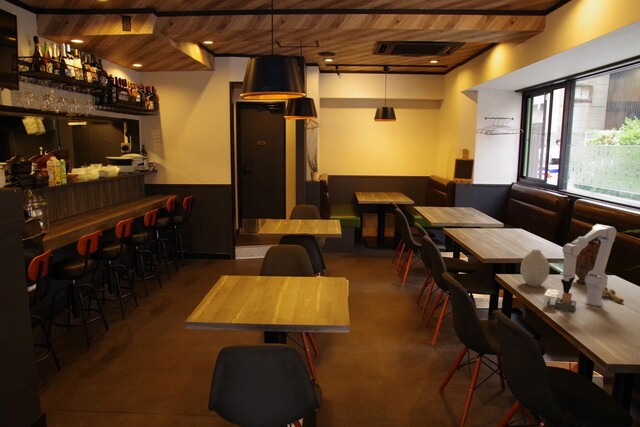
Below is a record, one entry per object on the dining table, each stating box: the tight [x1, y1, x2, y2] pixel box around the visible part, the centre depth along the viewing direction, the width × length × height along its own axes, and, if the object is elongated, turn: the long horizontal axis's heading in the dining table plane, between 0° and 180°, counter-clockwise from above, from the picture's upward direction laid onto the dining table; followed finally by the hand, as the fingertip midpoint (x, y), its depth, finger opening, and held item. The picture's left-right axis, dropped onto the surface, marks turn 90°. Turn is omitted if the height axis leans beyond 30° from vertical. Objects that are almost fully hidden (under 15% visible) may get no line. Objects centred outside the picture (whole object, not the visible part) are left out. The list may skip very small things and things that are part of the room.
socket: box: [554, 297, 577, 313], centre depth 256 cm, size 9×9×4 cm
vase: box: [520, 248, 550, 288], centre depth 295 cm, size 16×16×22 cm
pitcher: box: [575, 235, 601, 286], centre depth 300 cm, size 17×21×30 cm
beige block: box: [543, 288, 561, 309], centre depth 259 cm, size 14×6×7 cm, turn 146°
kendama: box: [602, 286, 625, 304], centre depth 274 cm, size 8×6×18 cm
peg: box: [561, 291, 573, 304], centre depth 255 cm, size 4×4×8 cm
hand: (566, 291), depth 255 cm, fingers open, 7 cm apart
